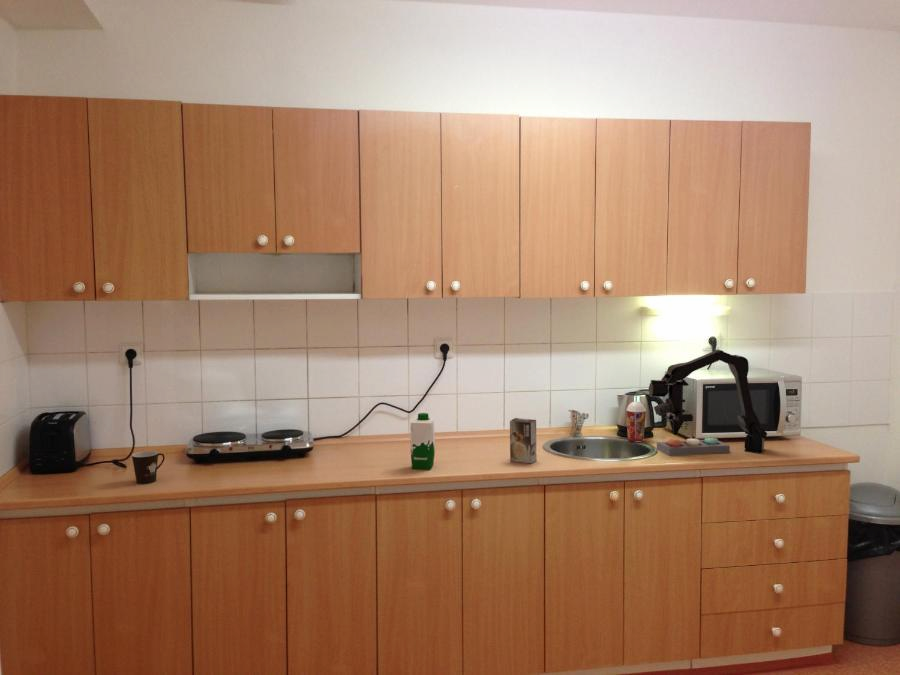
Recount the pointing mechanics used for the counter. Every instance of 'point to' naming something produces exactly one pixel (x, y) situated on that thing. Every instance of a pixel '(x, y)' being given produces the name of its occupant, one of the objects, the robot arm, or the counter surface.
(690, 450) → the button panel
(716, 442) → the teal button
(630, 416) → the smoothie
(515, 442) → the coffee box
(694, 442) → the cream button
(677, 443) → the red button
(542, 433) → the counter surface
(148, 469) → the coffee mug
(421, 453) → the milk carton
